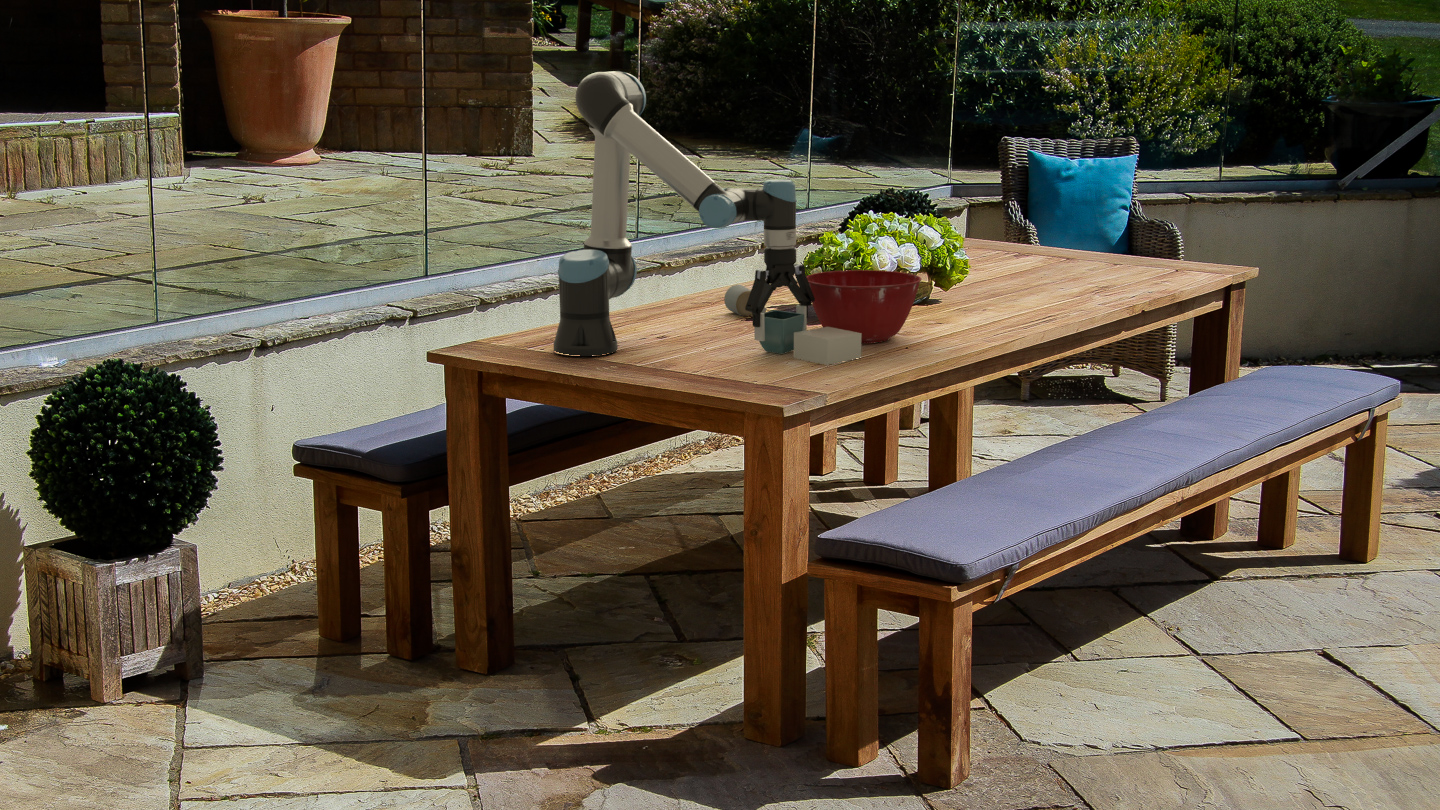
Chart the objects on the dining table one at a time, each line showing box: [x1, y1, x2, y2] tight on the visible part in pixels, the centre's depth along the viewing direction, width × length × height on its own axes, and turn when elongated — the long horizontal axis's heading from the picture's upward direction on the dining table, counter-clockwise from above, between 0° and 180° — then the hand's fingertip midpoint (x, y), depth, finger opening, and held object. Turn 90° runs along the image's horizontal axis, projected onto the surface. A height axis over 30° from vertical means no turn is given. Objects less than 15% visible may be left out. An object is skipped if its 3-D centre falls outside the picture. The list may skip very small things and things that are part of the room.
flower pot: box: [758, 309, 805, 355], centre depth 341 cm, size 9×9×9 cm
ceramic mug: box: [724, 284, 767, 317], centre depth 391 cm, size 11×8×8 cm
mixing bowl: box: [806, 269, 922, 344], centre depth 356 cm, size 28×28×16 cm
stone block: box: [793, 327, 862, 366], centre depth 334 cm, size 11×11×6 cm
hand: (780, 336), depth 342 cm, fingers open, 13 cm apart
